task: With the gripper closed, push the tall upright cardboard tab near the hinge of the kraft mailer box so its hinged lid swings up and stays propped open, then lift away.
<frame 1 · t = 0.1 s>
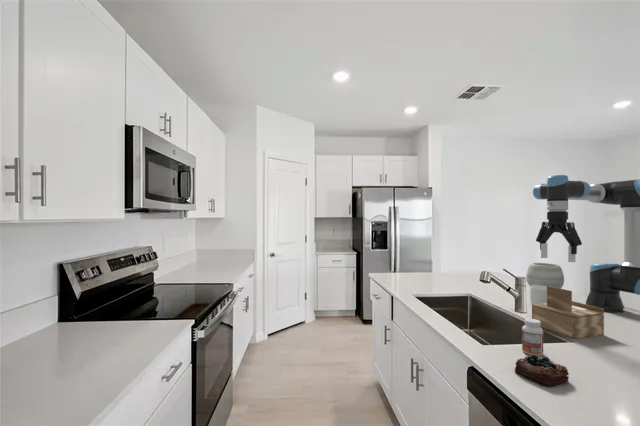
hand: (557, 260, 145), 28 cm above the worktop, fingers open, 13 cm apart
pill bottle: (532, 353, 115), on the worktop
lid: (566, 298, 139), point 13 cm above the worktop, hinge at 0.0°
pastry: (540, 377, 98), on the worktop
mug: (544, 314, 160), on the worktop
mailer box: (566, 329, 139), on the worktop
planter: (544, 308, 172), on the worktop
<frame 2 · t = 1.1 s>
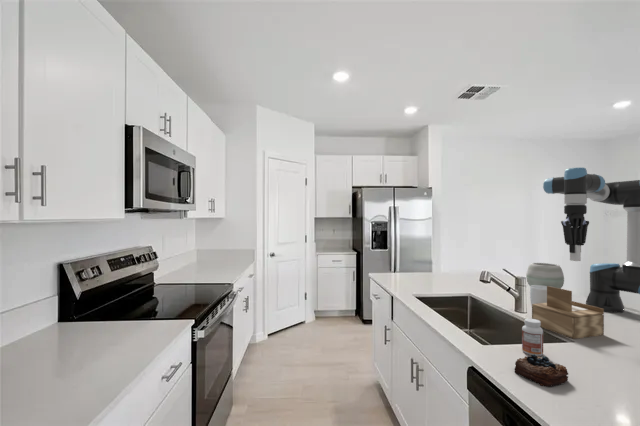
hand: (575, 260, 141), 28 cm above the worktop, fingers closed
nothing on the worktop moved.
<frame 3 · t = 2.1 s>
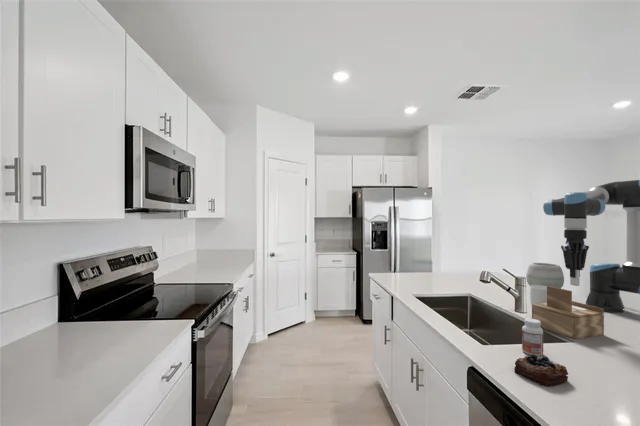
hand: (574, 285, 141), 18 cm above the worktop, fingers closed
nothing on the worktop moved.
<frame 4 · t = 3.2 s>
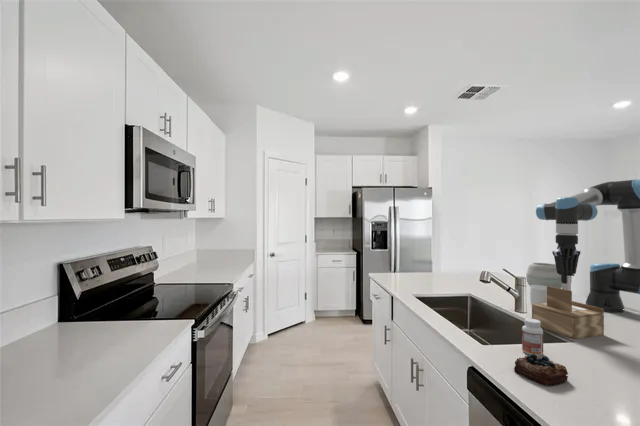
hand: (566, 291, 139), 16 cm above the worktop, fingers closed
nothing on the worktop moved.
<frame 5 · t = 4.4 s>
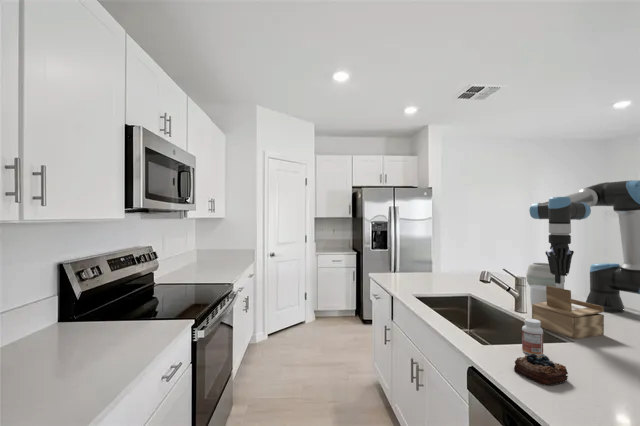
hand: (559, 291, 138), 16 cm above the worktop, fingers closed
lid: (565, 297, 139), point 13 cm above the worktop, hinge at 3.2°, touching gripper
everything else where it was.
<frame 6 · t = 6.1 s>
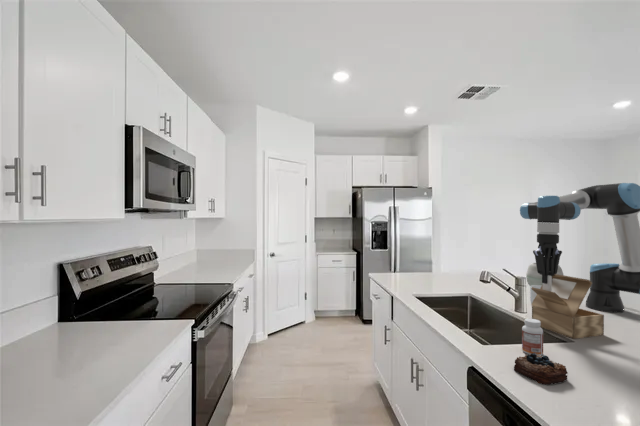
hand: (546, 291, 136), 16 cm above the worktop, fingers closed
lid: (553, 288, 137), point 17 cm above the worktop, hinge at 52.7°, touching gripper
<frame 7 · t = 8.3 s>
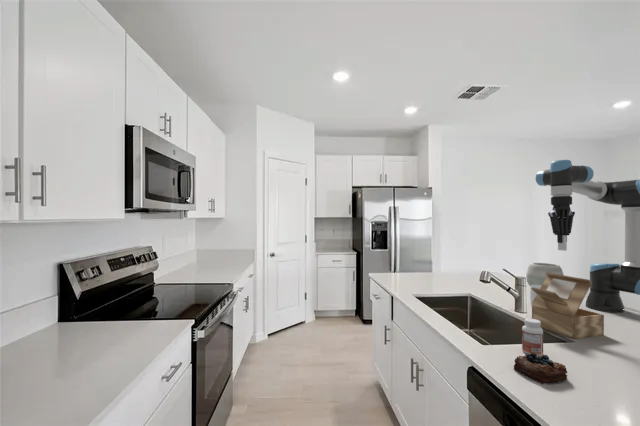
hand: (562, 250, 145), 32 cm above the worktop, fingers closed
lid: (553, 288, 137), point 17 cm above the worktop, hinge at 52.8°
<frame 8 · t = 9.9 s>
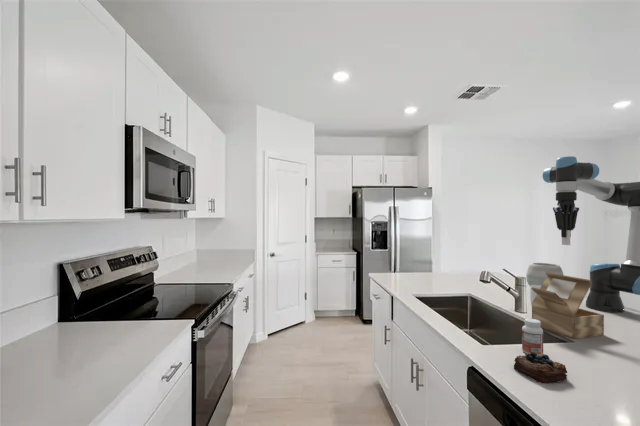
hand: (566, 244, 149), 34 cm above the worktop, fingers closed
at the end: lid at +53° (first picture: +0°); lid touching nothing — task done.
